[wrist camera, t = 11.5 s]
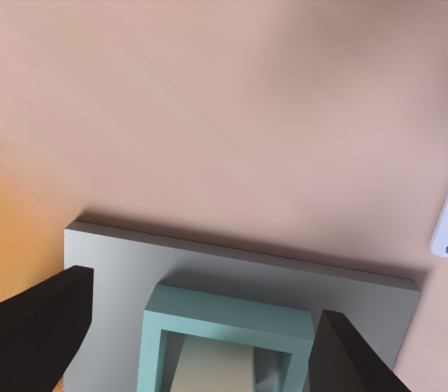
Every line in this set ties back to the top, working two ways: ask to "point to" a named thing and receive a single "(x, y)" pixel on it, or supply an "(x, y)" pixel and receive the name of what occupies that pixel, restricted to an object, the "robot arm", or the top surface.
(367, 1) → the top surface
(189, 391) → the cream block
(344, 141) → the top surface
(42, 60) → the top surface
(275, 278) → the organizer
